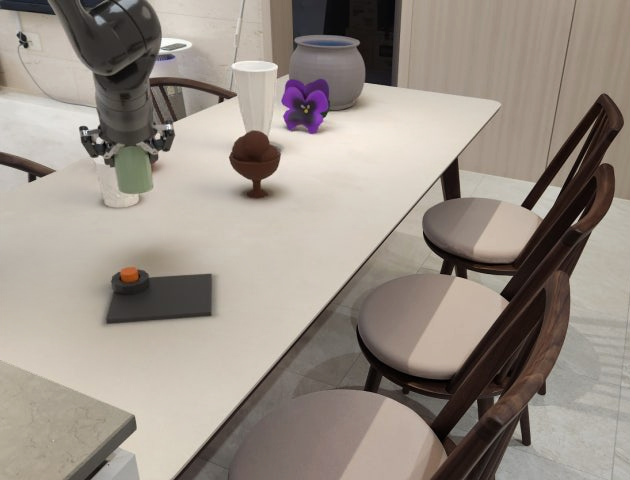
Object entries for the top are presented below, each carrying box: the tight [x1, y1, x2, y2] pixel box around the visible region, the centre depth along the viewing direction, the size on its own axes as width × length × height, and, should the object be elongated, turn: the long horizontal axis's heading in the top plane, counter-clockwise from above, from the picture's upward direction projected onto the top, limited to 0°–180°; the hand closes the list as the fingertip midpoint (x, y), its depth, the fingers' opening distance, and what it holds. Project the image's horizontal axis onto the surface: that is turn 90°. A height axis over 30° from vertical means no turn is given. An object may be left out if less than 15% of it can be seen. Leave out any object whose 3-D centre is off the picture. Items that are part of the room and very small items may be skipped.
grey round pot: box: [288, 34, 366, 111], centre depth 205 cm, size 25×25×20 cm
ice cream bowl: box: [228, 130, 282, 199], centre depth 135 cm, size 11×11×15 cm
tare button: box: [119, 266, 139, 283], centre depth 101 cm, size 3×3×2 cm
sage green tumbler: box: [113, 146, 154, 195], centre depth 105 cm, size 6×6×8 cm
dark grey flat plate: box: [105, 268, 213, 325], centre depth 100 cm, size 15×12×3 cm
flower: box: [280, 79, 330, 135], centre depth 185 cm, size 15×15×14 cm
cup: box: [230, 60, 281, 153], centre depth 160 cm, size 12×12×22 cm
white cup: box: [93, 155, 140, 209], centre depth 130 cm, size 8×8×10 cm
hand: (131, 160), depth 106 cm, fingers closed on sage green tumbler, 5 cm apart
